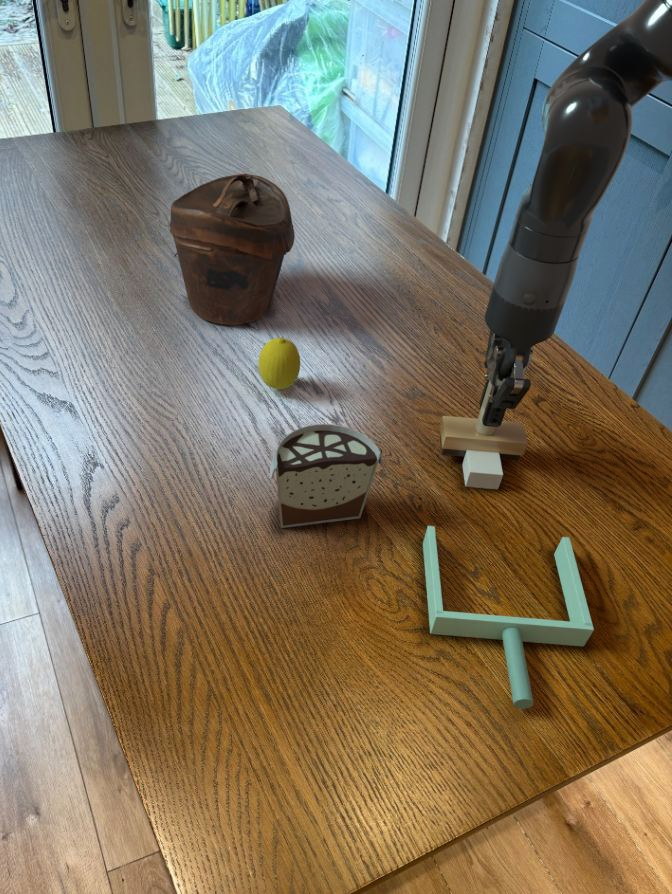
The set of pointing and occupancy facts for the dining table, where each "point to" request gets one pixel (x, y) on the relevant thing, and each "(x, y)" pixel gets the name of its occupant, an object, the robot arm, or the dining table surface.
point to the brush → (482, 435)
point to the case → (232, 246)
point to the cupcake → (323, 474)
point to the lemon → (279, 363)
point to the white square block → (482, 469)
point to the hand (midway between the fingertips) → (489, 416)
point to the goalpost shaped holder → (512, 618)
